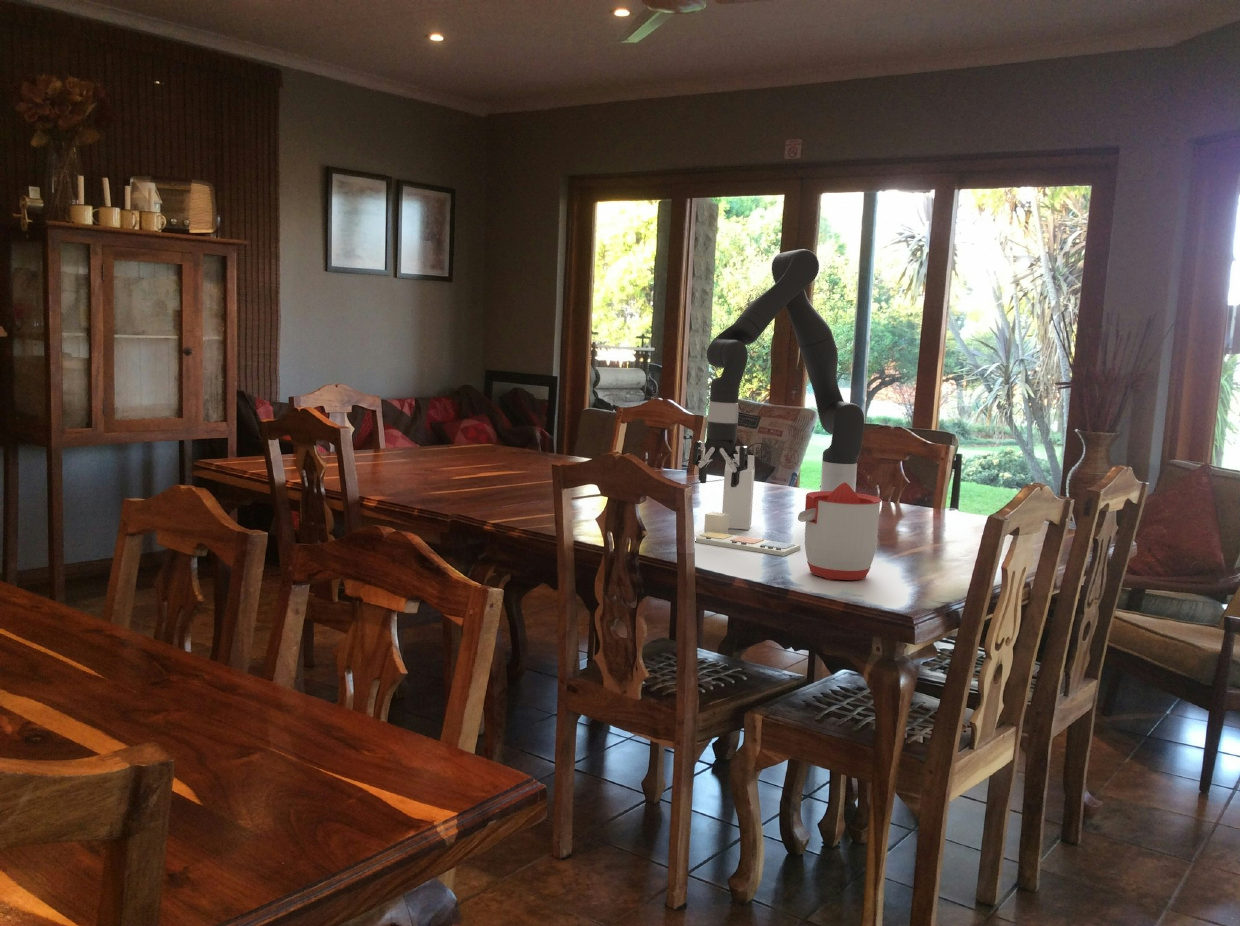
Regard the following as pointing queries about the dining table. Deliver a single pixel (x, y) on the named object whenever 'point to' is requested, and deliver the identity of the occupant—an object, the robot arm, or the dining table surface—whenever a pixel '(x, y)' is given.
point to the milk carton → (739, 496)
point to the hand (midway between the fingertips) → (718, 484)
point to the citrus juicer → (840, 532)
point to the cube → (716, 522)
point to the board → (747, 543)
